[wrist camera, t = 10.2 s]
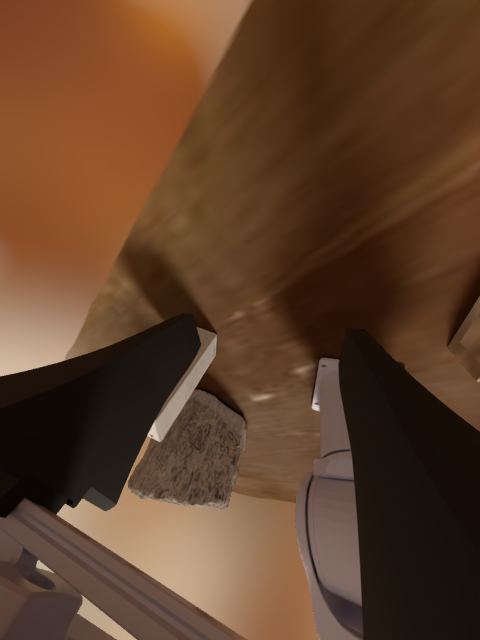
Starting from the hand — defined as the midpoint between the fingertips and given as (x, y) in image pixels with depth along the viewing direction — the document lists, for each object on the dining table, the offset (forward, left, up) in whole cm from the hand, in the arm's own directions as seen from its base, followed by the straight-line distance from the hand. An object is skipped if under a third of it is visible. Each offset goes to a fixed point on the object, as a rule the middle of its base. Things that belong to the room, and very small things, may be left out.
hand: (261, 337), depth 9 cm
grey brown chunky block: (-31, +14, -11) cm, 36 cm away
